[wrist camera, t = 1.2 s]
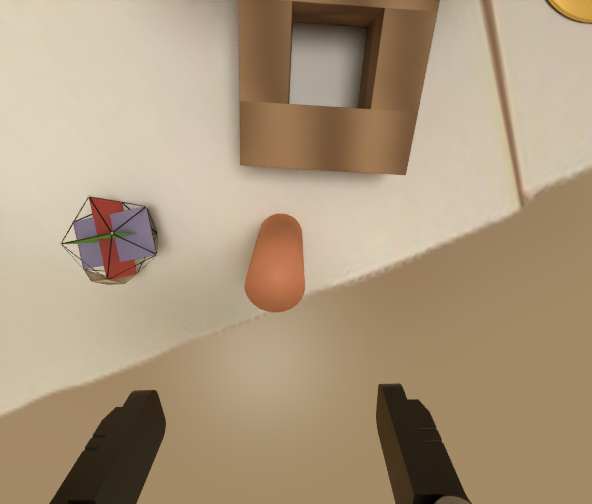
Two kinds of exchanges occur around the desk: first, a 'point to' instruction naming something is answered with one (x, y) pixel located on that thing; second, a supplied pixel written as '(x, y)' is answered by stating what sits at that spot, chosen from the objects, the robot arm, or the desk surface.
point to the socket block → (333, 120)
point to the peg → (277, 265)
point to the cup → (574, 9)
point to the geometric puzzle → (113, 240)
